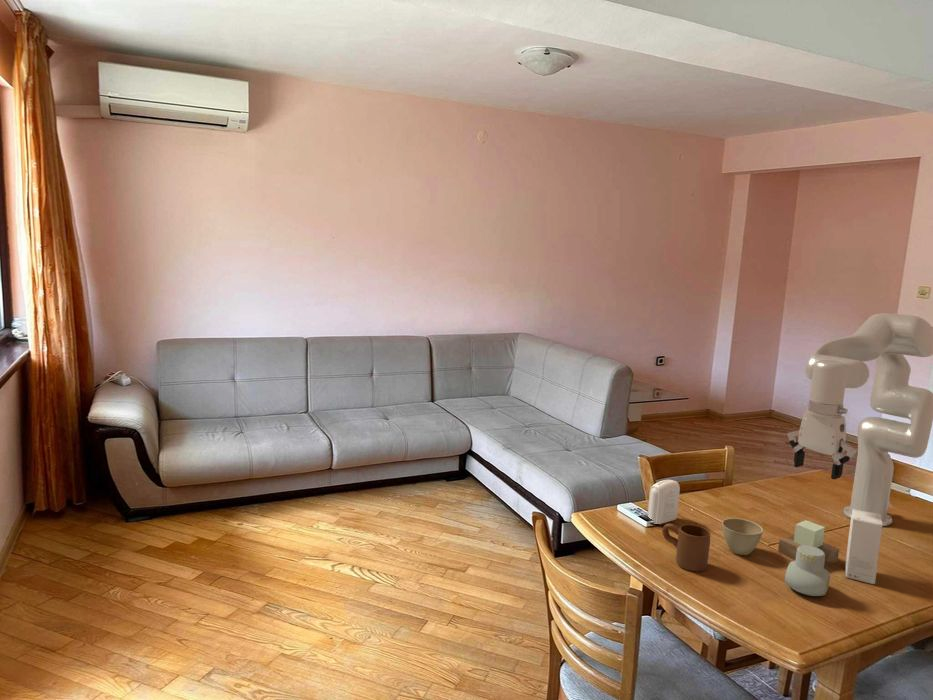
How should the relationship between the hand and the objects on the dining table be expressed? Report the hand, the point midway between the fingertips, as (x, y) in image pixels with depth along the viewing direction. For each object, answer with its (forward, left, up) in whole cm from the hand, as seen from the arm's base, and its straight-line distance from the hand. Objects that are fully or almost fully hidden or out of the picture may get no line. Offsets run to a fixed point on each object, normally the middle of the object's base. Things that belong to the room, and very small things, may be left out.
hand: (816, 472), depth 161 cm
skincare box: (-2, +12, -23) cm, 27 cm away
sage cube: (0, 0, -20) cm, 20 cm away
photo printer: (+18, -33, -23) cm, 44 cm away
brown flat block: (0, +1, -24) cm, 24 cm away
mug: (+33, -13, -23) cm, 43 cm away
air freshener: (+17, +10, -24) cm, 31 cm away
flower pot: (+14, -10, -23) cm, 29 cm away
